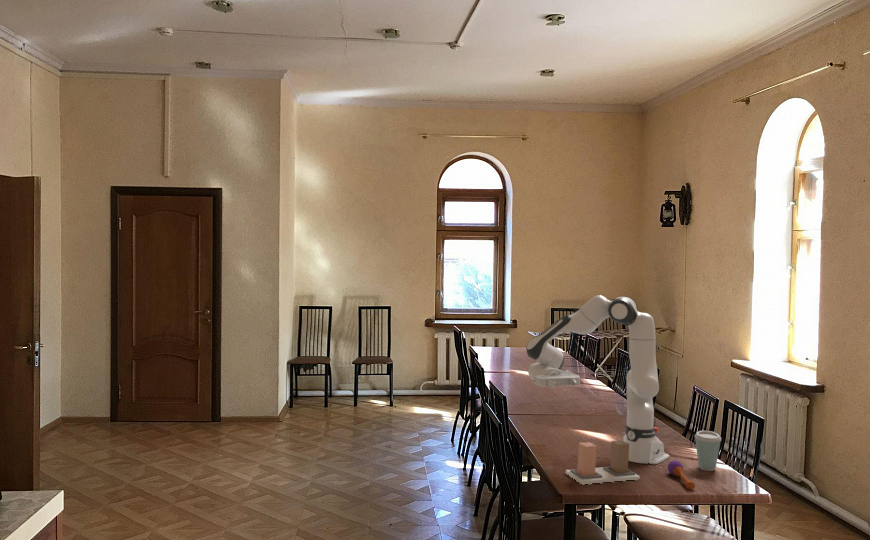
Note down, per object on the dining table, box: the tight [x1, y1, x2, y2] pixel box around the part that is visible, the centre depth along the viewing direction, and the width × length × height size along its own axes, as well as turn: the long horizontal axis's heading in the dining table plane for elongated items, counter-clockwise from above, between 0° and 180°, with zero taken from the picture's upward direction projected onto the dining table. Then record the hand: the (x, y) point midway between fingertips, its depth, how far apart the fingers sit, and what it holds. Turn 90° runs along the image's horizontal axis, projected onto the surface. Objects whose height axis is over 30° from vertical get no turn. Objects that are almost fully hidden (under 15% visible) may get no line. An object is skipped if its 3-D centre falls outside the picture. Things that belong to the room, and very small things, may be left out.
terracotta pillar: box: [576, 441, 597, 476], centre depth 275 cm, size 5×5×12 cm
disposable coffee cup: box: [694, 430, 722, 472], centre depth 293 cm, size 11×11×15 cm
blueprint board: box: [565, 439, 641, 486], centre depth 278 cm, size 26×13×14 cm, turn 108°
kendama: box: [667, 460, 696, 490], centre depth 277 cm, size 6×6×20 cm
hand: (565, 384), depth 296 cm, fingers open, 8 cm apart
